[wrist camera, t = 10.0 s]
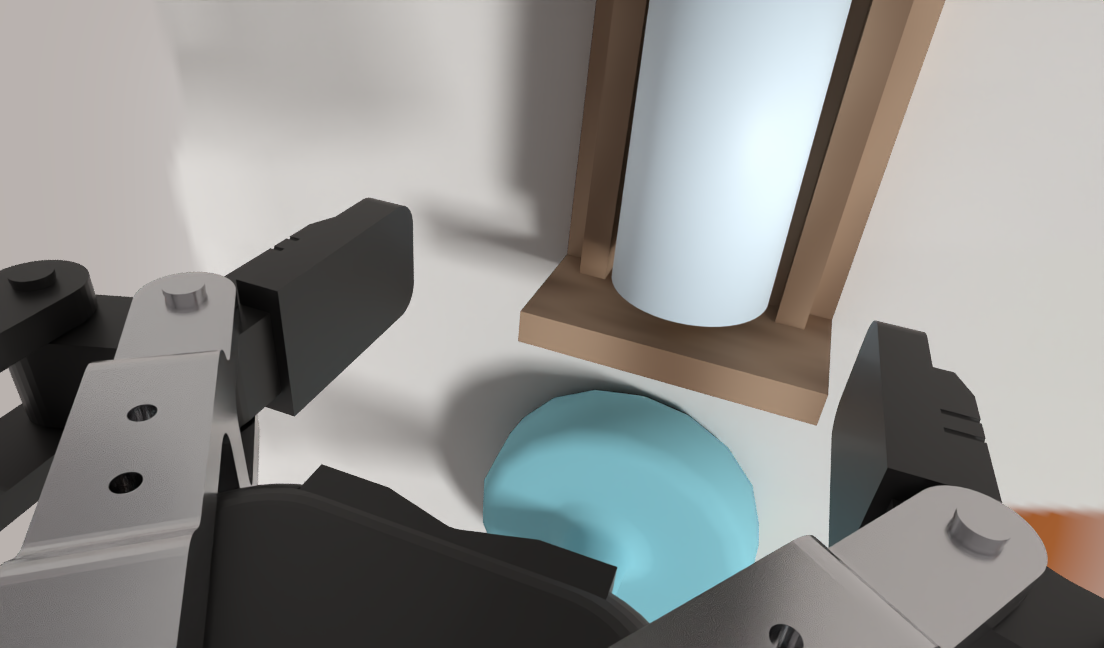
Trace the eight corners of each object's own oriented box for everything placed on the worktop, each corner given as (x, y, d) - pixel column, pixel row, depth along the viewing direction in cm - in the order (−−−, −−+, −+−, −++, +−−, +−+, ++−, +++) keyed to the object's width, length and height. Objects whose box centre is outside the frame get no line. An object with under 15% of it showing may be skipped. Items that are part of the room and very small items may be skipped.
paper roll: (771, 276, 25) (760, 350, 21) (629, 246, 27) (592, 311, 22) (862, -60, 20) (872, -50, 16) (678, -79, 21) (640, -74, 17)
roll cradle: (573, 269, 29) (518, 340, 25) (627, -173, 21) (561, -195, 17) (823, 331, 27) (816, 425, 22) (988, -140, 19) (1034, -156, 14)
